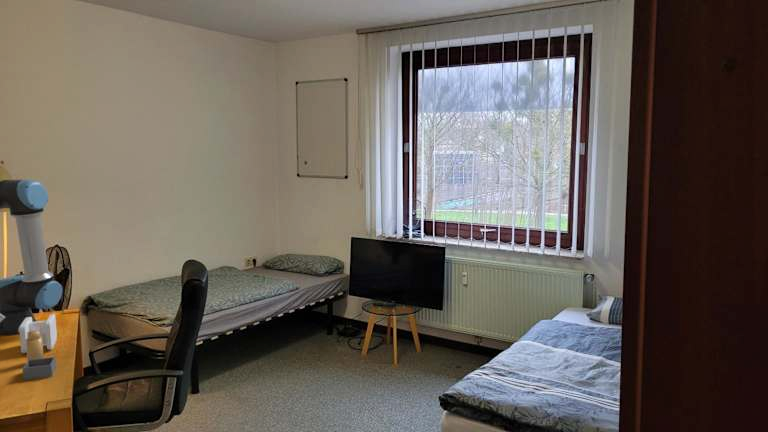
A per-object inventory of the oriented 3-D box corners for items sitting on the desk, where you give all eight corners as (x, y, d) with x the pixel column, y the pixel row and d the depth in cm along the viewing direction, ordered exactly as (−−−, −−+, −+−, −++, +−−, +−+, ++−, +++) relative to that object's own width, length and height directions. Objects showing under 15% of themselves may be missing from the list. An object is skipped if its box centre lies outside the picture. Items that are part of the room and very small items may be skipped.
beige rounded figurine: (29, 361, 209) (26, 330, 208) (44, 359, 211) (42, 329, 210) (26, 366, 205) (24, 334, 203) (42, 364, 207) (40, 333, 205)
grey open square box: (28, 371, 200) (27, 360, 200) (56, 367, 203) (55, 356, 203) (23, 380, 192) (22, 368, 192) (52, 376, 195) (51, 365, 195)
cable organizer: (52, 352, 218) (49, 323, 217) (19, 356, 215) (17, 326, 213) (57, 340, 232) (55, 312, 231) (27, 343, 228) (25, 315, 227)
